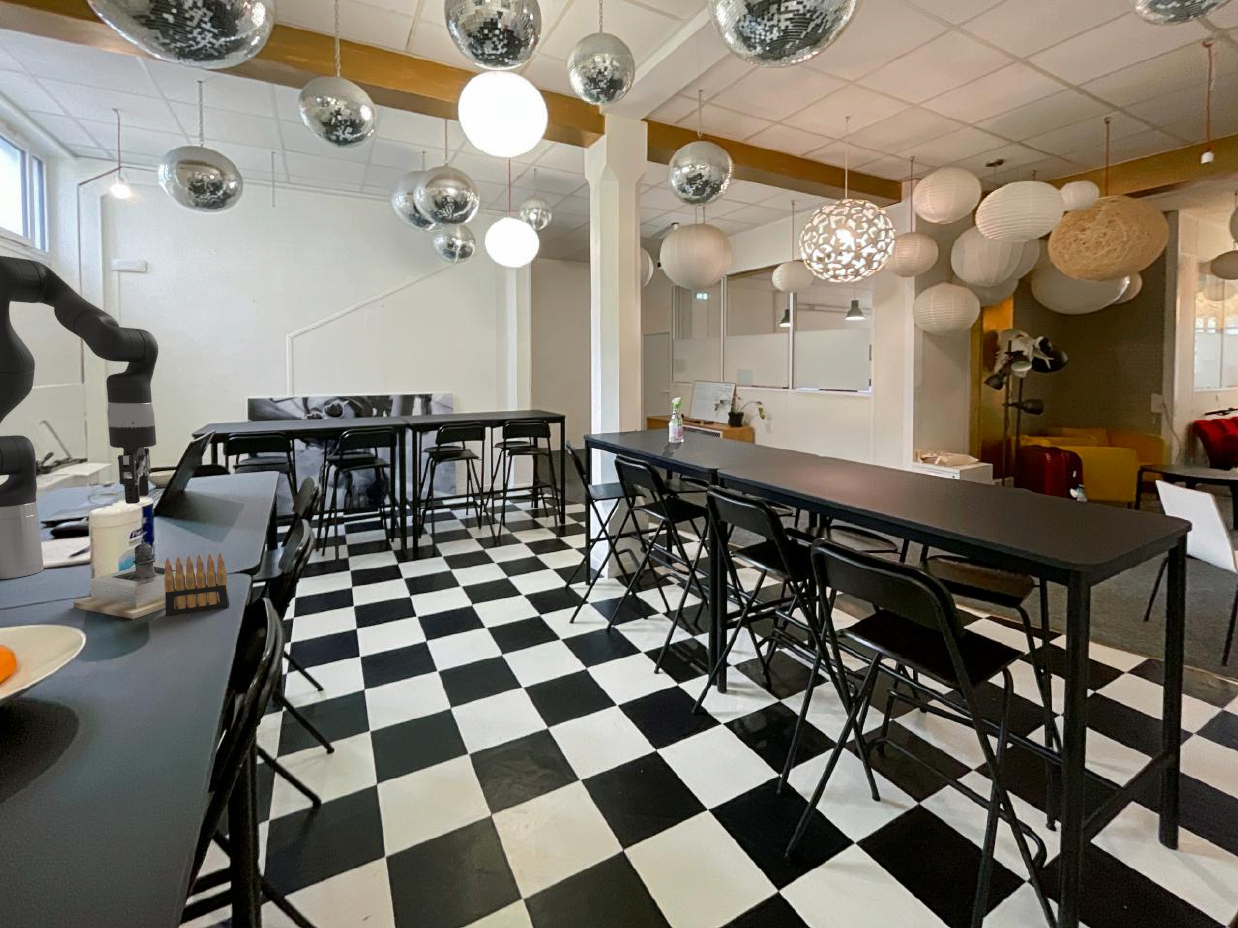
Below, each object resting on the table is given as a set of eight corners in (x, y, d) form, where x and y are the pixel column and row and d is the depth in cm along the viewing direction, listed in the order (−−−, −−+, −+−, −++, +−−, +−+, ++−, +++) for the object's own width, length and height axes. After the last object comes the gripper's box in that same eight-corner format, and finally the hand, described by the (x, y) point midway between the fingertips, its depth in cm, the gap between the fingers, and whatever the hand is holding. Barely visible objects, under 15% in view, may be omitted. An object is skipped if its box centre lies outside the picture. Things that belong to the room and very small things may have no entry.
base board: (73, 607, 119) (73, 602, 119) (158, 581, 136) (158, 576, 136) (133, 619, 115) (133, 613, 115) (213, 590, 131) (213, 585, 131)
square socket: (91, 600, 121) (89, 579, 120) (155, 580, 133) (154, 561, 132) (136, 608, 117) (134, 587, 117) (198, 587, 130) (197, 568, 129)
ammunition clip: (165, 616, 117) (160, 559, 115) (167, 613, 118) (162, 557, 117) (228, 608, 122) (225, 553, 120) (229, 605, 124) (226, 551, 122)
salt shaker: (169, 591, 127) (166, 538, 125) (140, 599, 121) (135, 545, 120) (152, 586, 129) (148, 535, 127) (122, 595, 123) (117, 541, 122)
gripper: (146, 426, 116) (152, 505, 118) (161, 421, 129) (166, 492, 131) (98, 427, 113) (105, 507, 115) (118, 421, 125) (124, 494, 127)
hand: (137, 499), depth 123 cm, fingers open, 8 cm apart
